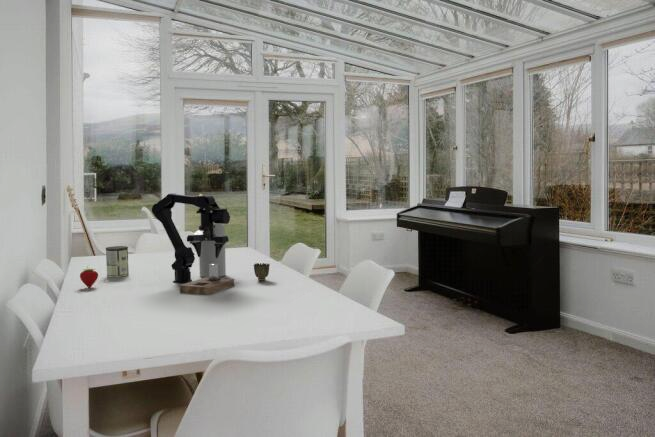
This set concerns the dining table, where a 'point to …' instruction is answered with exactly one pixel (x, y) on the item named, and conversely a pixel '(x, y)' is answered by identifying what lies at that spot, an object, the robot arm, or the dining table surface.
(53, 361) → the dining table surface
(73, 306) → the dining table surface
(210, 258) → the cylinder vase
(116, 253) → the coffee can
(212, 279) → the lock pin
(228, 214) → the robot arm
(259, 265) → the cup
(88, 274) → the strawberry
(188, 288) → the mount block
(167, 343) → the dining table surface
